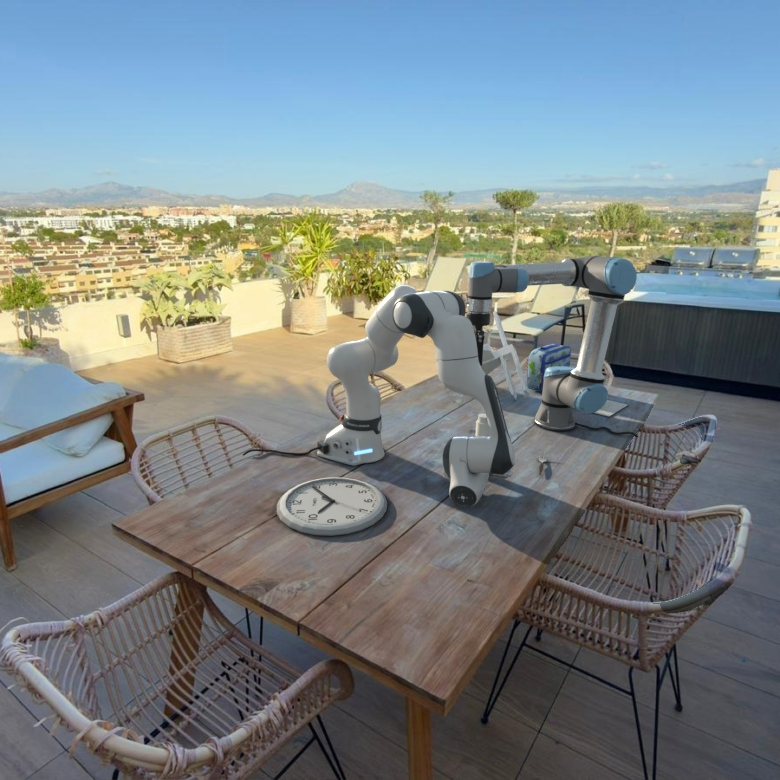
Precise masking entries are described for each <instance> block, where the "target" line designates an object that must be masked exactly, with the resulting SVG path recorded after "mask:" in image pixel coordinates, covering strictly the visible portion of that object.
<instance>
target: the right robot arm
mask: <svg viewBox="0 0 780 780" xmlns="http://www.w3.org/2000/svg"><path fill="white" fill-rule="evenodd" d="M637 274H638V273H637V270H636V267H635V266H634V263H632V262H631V261H630V260H629V259H626V258H623V257H617V256H601V255H590V256H582V257H575V258H574V257H573V258H565V259H563V260H562V261H557V262H556V261H555V262H553V261H552V262H532V263H512V264H495V263H494V262H493V261H473V262H471V263H470V265H469V269H468V286H467V300H466V301H464V303H465V305H466V313H465V317H467V318H468V319H469V320H470V321H471V323H472V326H473V330H474V333H475V338H476V343H477V350H478V359H479V363H480V366H482V357H483V344H485V331H484V330H483V327H487V326H489V325H490V323H491V313H490V312H492V303H493V294H496V293H497V294H498V293H500V294H501V293H502V294H503V293H509V294H512V293H513V294H516V293H523V292H525V291H526V289H527V288H528V287H529V286H530V287H531V286H547V285H562V286H563V287H577V288H580V289H581V288H582V289H587V290H588V293H587V296H588V298H589V299H590V304H589V310H588V314H587V318H586V322H585V326H584V330H583V336H582V341H581V345H580V348H579V354H578V358H577V363H576V367H573V366H570V367H565V366H556V367H549V368H547V369H546V370H545V374H544V381H543V391H542V393H541V402H540V405H539V407H538V410H537V411H536V413H535V417H534V424H535V425H536V426H537V427H539V428H542V429H544V430H549V431H556V432H567V431H572V430H574V429H575V428H576V426H579V427H583V428H586V429H589V430H592V431H600V430H606V431H608V432H609V433H610V434H613V435H619V436H620V435H632V436H634V437H635V438H639V435H638V434H637V433H635V432H633V431H622V432H621V431H613V430H611V428H609V427H606V426H598V427H592V426H589V425H586V424H582V423H579V422H576V418H575V417H576V416H575V413H574V410H575V411H576V412H580V413H583V414H587V415H590V414H596V413H595V412H597V411H598V410H599V409H601V408H602V407H603V406H604V404H605V403H606V401H607V400H608V399H609V391H608V388H606V386H605V385H604V383H605V379H606V377H605V376H604V374H603V372H602V371H603V367H604V363H605V359H606V355H607V351H608V347H609V343H610V338H611V333H612V330H613V326H614V323H615V322H614V321H615V318H616V313H617V309H618V305H620V303H622V302H623V301H624V299H625V296H626V295H627V294H630V292H632V290H633V289H634V288H635V286H636V283H637V280H638V279H637V277H638V275H637Z"/></svg>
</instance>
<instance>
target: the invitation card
mask: <svg viewBox="0 0 780 780" xmlns="http://www.w3.org/2000/svg"><path fill="white" fill-rule="evenodd" d="M628 406H629V404H627V403H623V402H618V401H614V400H609V399H607V401H606V403H605V404H604V406H603V407H602V408H601V409H599V410H598V411H597V412H595V413H594V414H596V415H600V416H604V417H608V418H609V417H611V416H613V415H614V414H616V413H617V412H619V411H621V410H623V409H624V408H626V407H628Z"/></svg>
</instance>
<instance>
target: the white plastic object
mask: <svg viewBox="0 0 780 780" xmlns="http://www.w3.org/2000/svg"><path fill="white" fill-rule="evenodd" d="M492 315H493V319H494V321H495V324H496V325H495V326H496V328H497V332H498V335H499V338H500V342H501V345H502V347H500V348H498V349H496V350H495V349H493V348H492V347H491V346H490V344H489V343H488V342H487V343H484V344H483V357H482V366H481V368H482V370H483V371H484V373H485V374H487V375H489V374H490V373H492V372H494V371H495V370H496V369H497V368H499V367H500V366H502V370H503V373H504V376H505V380H506V383H507V386H508V390H509V393H510V394H511V395H512V397H513V398H514V399H515V400H517V392H516V391H517V390H516V388H515V385H514V381H513V378H512V375H511V371H510V369H509V365H508V361H510V360H513V363H514V366H515V369H516V372H517V376H518V380H519V382H520V385H521V389H522V391H523V393H524V395H525V396H526V397H528V396H531V395H530V389H528V387H527V380H526V378H525V375H524V371H523V369H522V368H523V367H522V366H521V362H520V359H519V355H518V352H517V349H516V347H515V346H514V345H513V343H511V344H508V341H507V337H506V334H505V331H504V328H503V325H502V321H501V318H500V315H499V314H498V312H497V311H496V310H495V311H492Z"/></svg>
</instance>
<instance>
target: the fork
mask: <svg viewBox="0 0 780 780" xmlns="http://www.w3.org/2000/svg"><path fill="white" fill-rule="evenodd" d="M538 461H539V462H540V465H539V467H538V468H539V469H538V470H539V475H541V474H542V472H543V470H544V463H546V462H547V461H548V451H547V452H546V454H544V452H542V451H540V453H539V457H538Z"/></svg>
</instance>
